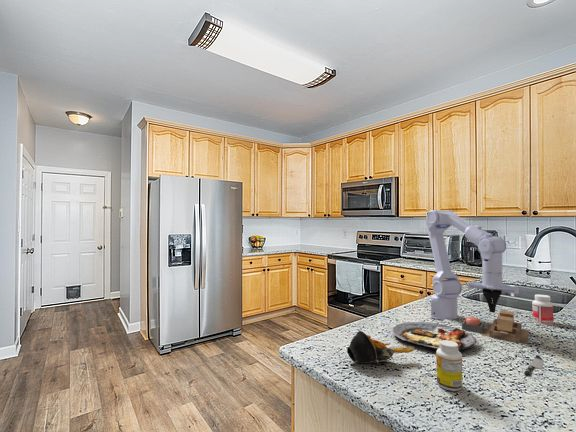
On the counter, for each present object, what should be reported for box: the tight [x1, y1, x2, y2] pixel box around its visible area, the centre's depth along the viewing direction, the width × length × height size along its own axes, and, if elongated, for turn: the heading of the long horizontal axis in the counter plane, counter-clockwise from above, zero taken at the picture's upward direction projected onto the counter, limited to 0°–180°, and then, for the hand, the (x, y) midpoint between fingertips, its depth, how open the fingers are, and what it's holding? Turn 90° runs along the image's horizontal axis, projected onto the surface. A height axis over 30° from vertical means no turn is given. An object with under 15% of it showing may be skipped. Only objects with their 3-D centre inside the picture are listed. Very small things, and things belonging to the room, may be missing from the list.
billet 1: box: [498, 309, 515, 327], centre depth 111 cm, size 4×4×6 cm
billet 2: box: [496, 315, 513, 334], centre depth 104 cm, size 4×4×6 cm
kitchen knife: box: [523, 355, 545, 377], centre depth 85 cm, size 19×1×3 cm
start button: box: [465, 316, 481, 326], centre depth 111 cm, size 4×4×3 cm
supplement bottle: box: [435, 340, 463, 392], centre depth 75 cm, size 6×6×10 cm
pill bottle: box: [531, 293, 555, 326], centre depth 118 cm, size 6×6×11 cm
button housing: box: [461, 318, 485, 334], centre depth 111 cm, size 6×6×3 cm
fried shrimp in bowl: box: [346, 330, 416, 365], centre depth 89 cm, size 9×11×18 cm
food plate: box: [391, 321, 477, 351], centre depth 104 cm, size 25×23×4 cm
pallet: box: [482, 318, 530, 345], centre depth 107 cm, size 12×16×3 cm
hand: (492, 311), depth 107 cm, fingers closed
